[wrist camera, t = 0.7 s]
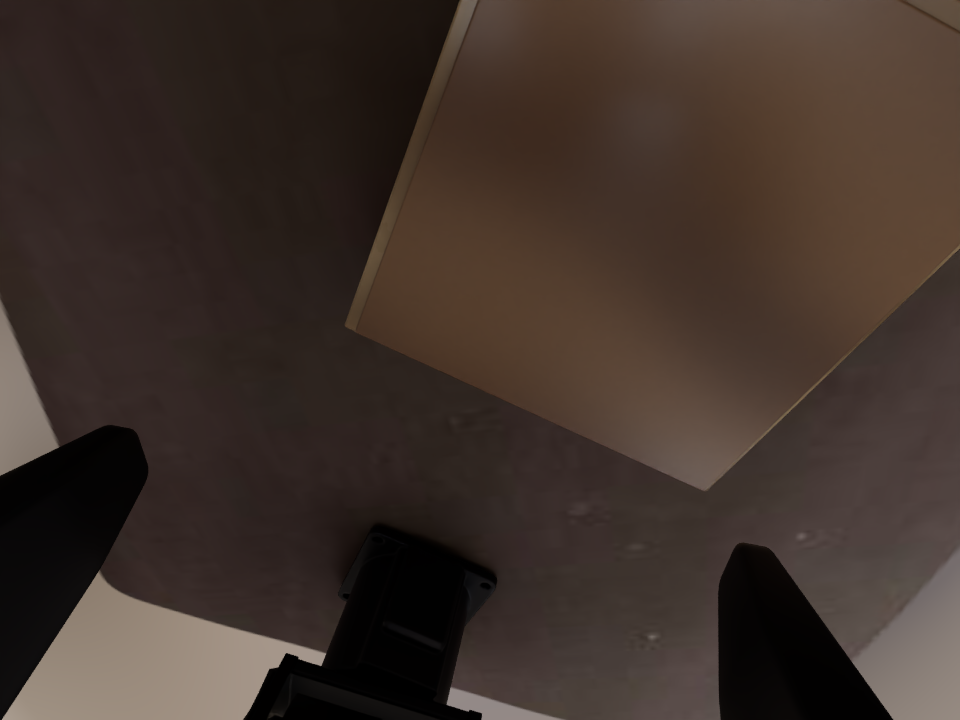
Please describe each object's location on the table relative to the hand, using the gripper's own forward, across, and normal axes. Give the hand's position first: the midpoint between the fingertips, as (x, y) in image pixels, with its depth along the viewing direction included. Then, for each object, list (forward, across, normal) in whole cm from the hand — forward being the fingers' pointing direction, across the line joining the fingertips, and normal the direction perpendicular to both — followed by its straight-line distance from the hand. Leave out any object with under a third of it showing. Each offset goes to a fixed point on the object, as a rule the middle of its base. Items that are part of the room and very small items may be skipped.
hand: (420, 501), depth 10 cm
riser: (+12, -3, -1) cm, 13 cm away
